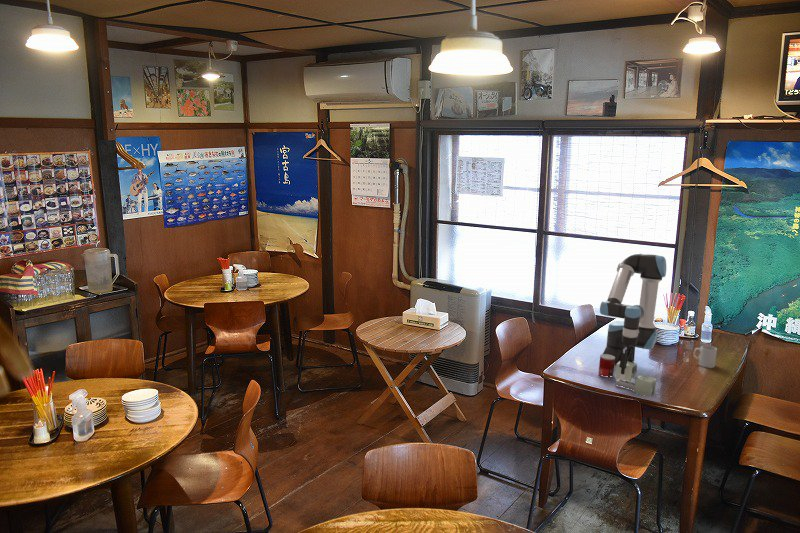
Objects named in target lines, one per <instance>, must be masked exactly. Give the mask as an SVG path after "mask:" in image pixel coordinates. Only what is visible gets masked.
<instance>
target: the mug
mask: <svg viewBox="0 0 800 533" xmlns="http://www.w3.org/2000/svg"><path fill="white" fill-rule="evenodd" d="M697 351H698V352H699V356H697V355H696V352H697ZM717 353H718V348H717V347H715V346H713V345H708V344H704V345H701V346H700V347H695V348H694V350H693V358H694V359H695V360H698V365H699V366H700V367H703V368H706V369H713V368H715V366H716V361H717V360H716V359H717Z"/></svg>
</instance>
